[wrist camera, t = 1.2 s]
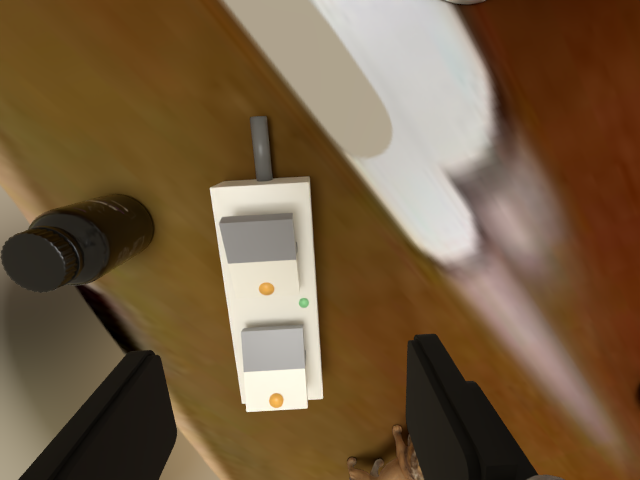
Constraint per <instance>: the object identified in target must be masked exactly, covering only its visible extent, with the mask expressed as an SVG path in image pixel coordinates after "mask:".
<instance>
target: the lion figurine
mask: <svg viewBox="0 0 640 480" xmlns="http://www.w3.org/2000/svg"><path fill="white" fill-rule="evenodd" d="M401 432H402V428H401V426H400V425H394V426H393V435H394V438H395V441H396V455H397V458H395V459H393V460H392V461H390V462H389V463H388V464H386V465H385V466H384V468H383V469H382V470H381V472H380V475H378V469H379V467H382V466H383V465H384V461H383V460H382V459H377V460H376V461H375V463H374V466H373V468H372V470H371V472H370V474H369V473H367V472H365V471H364V470H359V469H355V468H353V467H354V465H356V463H357V462H356V459H355V458H354V457H350V458H349V459H348V461H347V464H348V469H349V474H350V480H424V478H423V475H422V472H421V469H420V465H419V462H418V459H417V456H416V453H415V450H414V447H413V444H412V441H411V438H410V435H409V436H408V446H406V445H405V444H404V442H403V440H402V436H401Z"/></svg>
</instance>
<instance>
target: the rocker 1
mask: <svg viewBox="0 0 640 480" xmlns="http://www.w3.org/2000/svg"><path fill="white" fill-rule="evenodd" d="M219 226H220V231H221V235H222V239H223V244H224V248H225V252H226V257H227V261H228V265H229V270H230V274H231V278H232V283H233V287H234V291H235V296H236V299H239V298H256V297H273V296H290V295H300V280H299V270H298V260H297V247H296V240H295V230H294V220H293V213H280V214H262V215H245V216H228V217H222V218H221V220H220V222H219Z"/></svg>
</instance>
